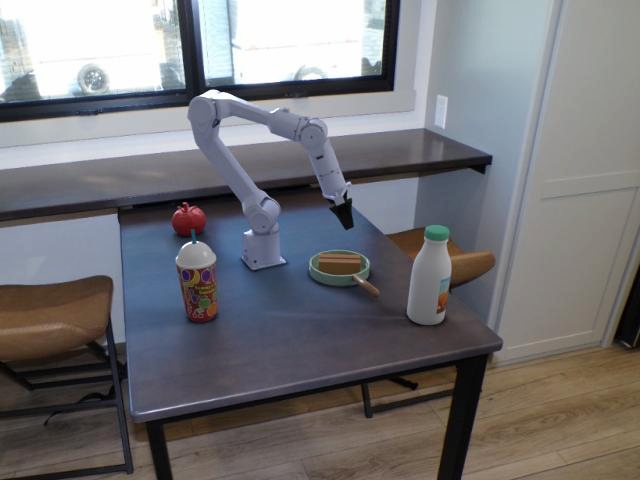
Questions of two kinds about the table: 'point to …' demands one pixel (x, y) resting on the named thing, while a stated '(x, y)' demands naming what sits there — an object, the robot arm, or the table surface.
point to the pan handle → (366, 285)
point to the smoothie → (198, 279)
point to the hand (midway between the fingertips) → (347, 223)
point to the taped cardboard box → (339, 264)
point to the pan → (337, 279)
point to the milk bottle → (430, 278)
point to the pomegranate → (188, 220)
